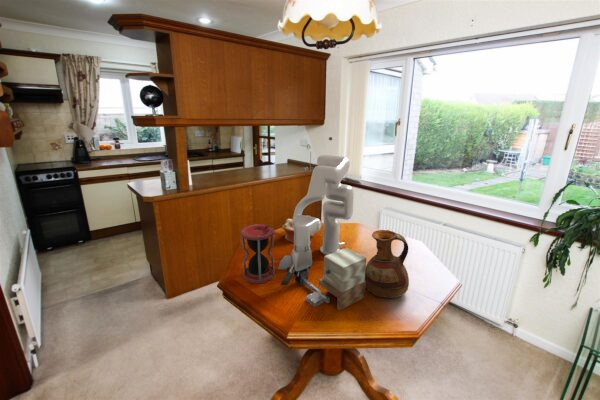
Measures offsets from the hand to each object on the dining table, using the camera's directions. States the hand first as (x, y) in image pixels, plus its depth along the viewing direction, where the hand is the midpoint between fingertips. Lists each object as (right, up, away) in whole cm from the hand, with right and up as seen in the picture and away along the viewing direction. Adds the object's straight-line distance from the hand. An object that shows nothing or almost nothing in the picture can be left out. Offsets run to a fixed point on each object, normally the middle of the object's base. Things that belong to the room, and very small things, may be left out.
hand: (301, 280), depth 142 cm
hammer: (+5, -3, -6) cm, 9 cm away
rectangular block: (+6, -6, -13) cm, 16 cm away
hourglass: (-22, +1, +7) cm, 23 cm away
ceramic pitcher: (+40, -4, -5) cm, 40 cm away
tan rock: (-2, +14, +52) cm, 54 cm away
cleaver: (-7, +2, +13) cm, 16 cm away
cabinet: (+18, -5, -9) cm, 21 cm away
